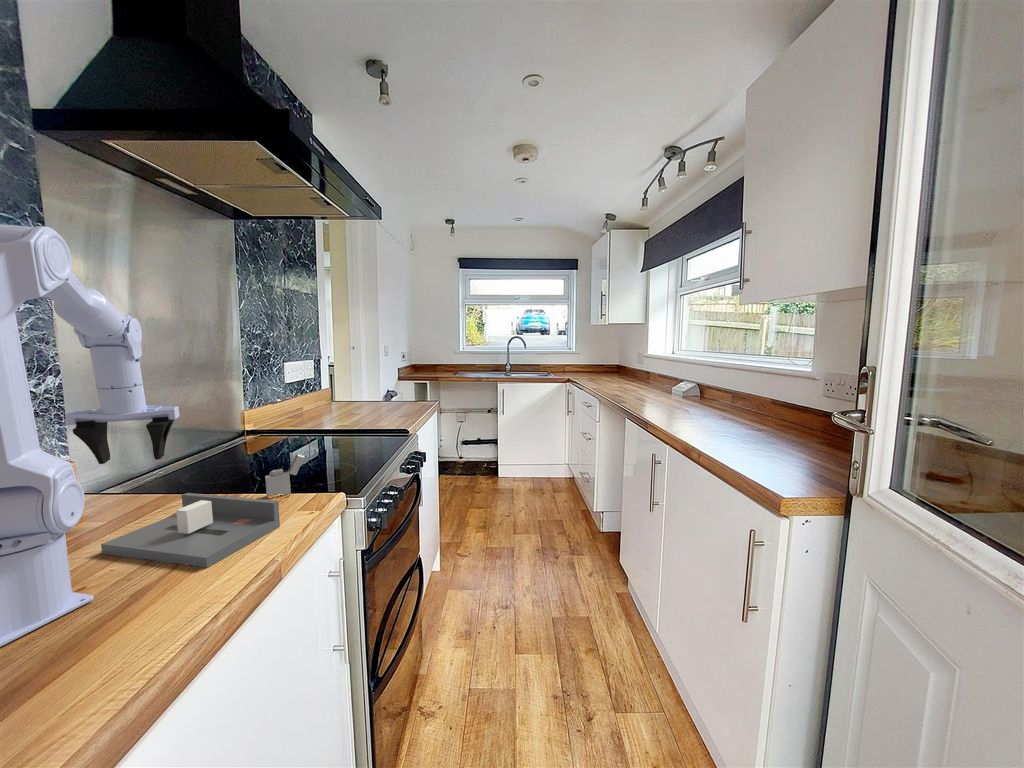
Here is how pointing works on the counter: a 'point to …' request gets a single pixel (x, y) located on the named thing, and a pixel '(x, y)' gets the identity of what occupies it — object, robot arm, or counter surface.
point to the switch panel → (200, 532)
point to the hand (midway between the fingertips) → (132, 459)
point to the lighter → (282, 478)
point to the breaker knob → (194, 516)
